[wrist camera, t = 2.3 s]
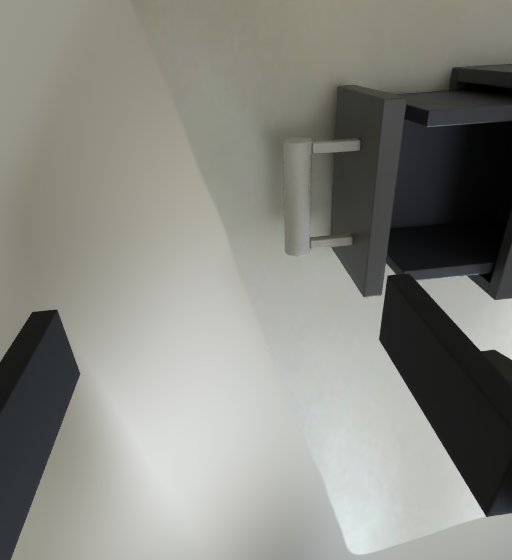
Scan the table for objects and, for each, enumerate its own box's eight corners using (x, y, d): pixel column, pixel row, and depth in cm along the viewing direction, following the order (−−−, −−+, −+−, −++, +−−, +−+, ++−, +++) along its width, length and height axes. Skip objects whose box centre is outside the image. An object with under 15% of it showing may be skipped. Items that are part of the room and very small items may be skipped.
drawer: (274, 250, 32) (294, 305, 25) (270, 90, 26) (293, 105, 19) (491, 230, 33) (565, 276, 26) (533, 73, 27) (641, 81, 20)
